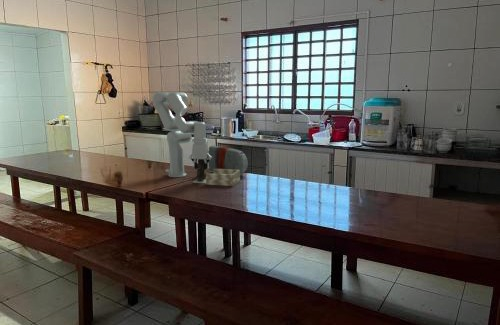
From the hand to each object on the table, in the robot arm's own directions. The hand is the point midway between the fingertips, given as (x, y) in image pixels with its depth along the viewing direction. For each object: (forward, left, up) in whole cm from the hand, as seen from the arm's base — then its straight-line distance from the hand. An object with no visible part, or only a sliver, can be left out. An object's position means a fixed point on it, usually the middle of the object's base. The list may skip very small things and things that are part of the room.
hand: (201, 168), depth 234 cm
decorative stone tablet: (+11, +22, -9) cm, 26 cm away
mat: (0, 0, -8) cm, 8 cm away
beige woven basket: (+15, 0, -8) cm, 17 cm away
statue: (0, 0, -7) cm, 7 cm away
